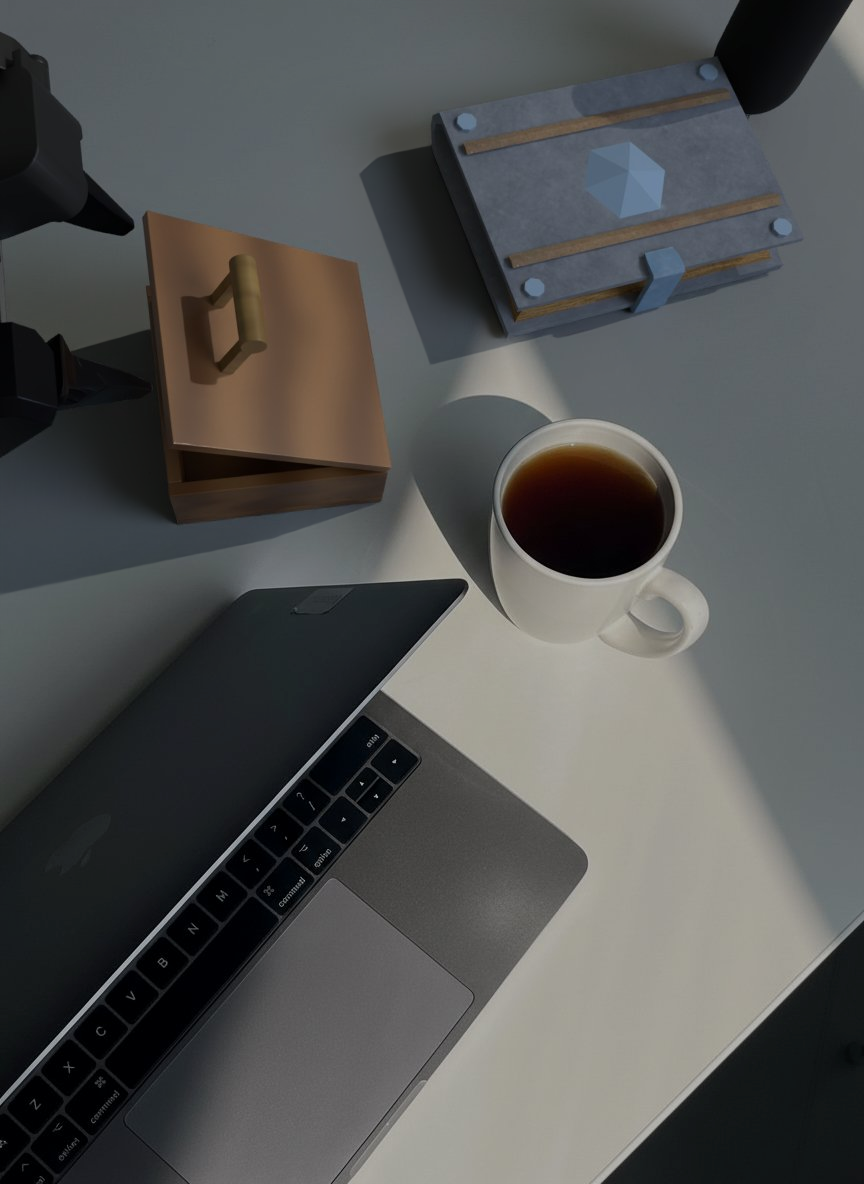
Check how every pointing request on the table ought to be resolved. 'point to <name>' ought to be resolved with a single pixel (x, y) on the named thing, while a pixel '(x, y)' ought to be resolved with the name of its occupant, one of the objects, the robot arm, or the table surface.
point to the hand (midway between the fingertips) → (138, 308)
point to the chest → (255, 479)
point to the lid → (262, 349)
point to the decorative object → (774, 47)
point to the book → (612, 194)
